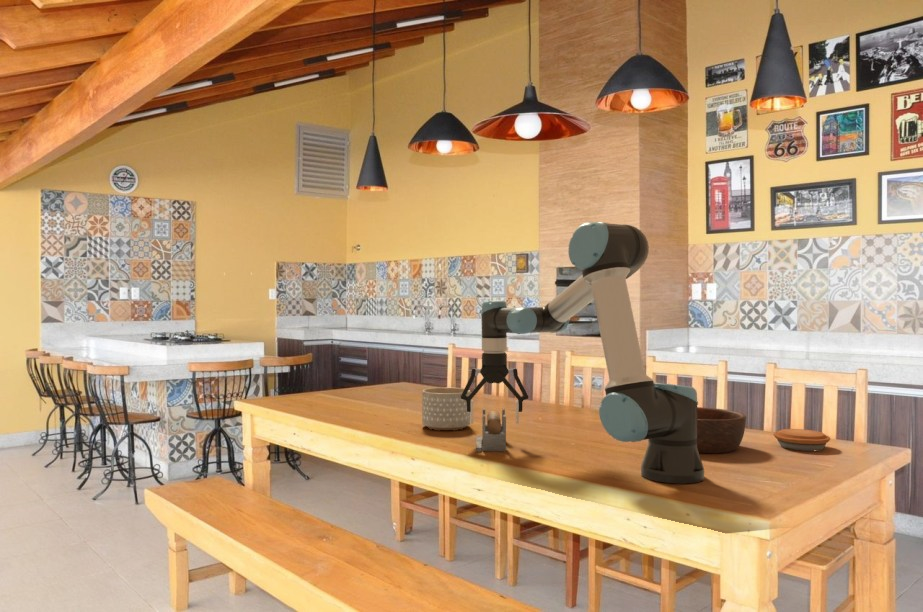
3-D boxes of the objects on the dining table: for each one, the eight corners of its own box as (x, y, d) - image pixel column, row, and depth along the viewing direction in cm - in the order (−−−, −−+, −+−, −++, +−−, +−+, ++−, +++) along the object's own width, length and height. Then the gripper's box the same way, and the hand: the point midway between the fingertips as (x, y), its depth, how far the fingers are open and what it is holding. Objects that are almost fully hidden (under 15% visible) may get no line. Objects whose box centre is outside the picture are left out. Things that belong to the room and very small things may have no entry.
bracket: (506, 452, 207) (506, 417, 207) (475, 451, 208) (475, 417, 208) (504, 439, 226) (504, 407, 226) (476, 439, 227) (476, 407, 227)
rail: (496, 437, 208) (503, 425, 208) (484, 430, 208) (491, 418, 208) (495, 425, 227) (502, 414, 227) (484, 419, 227) (491, 408, 227)
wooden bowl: (688, 458, 201) (688, 421, 200) (642, 441, 225) (642, 408, 224) (764, 453, 207) (764, 418, 207) (712, 437, 231) (712, 405, 231)
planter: (416, 430, 242) (416, 392, 241) (429, 422, 257) (430, 386, 257) (463, 432, 238) (464, 394, 237) (474, 424, 254) (475, 388, 253)
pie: (800, 441, 226) (800, 425, 226) (842, 451, 211) (842, 433, 211) (761, 444, 220) (761, 428, 220) (802, 454, 206) (802, 437, 206)
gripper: (535, 351, 220) (535, 420, 220) (453, 351, 221) (453, 420, 221) (536, 352, 213) (537, 424, 213) (452, 353, 213) (452, 424, 213)
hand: (494, 423), depth 217 cm, fingers open, 13 cm apart
